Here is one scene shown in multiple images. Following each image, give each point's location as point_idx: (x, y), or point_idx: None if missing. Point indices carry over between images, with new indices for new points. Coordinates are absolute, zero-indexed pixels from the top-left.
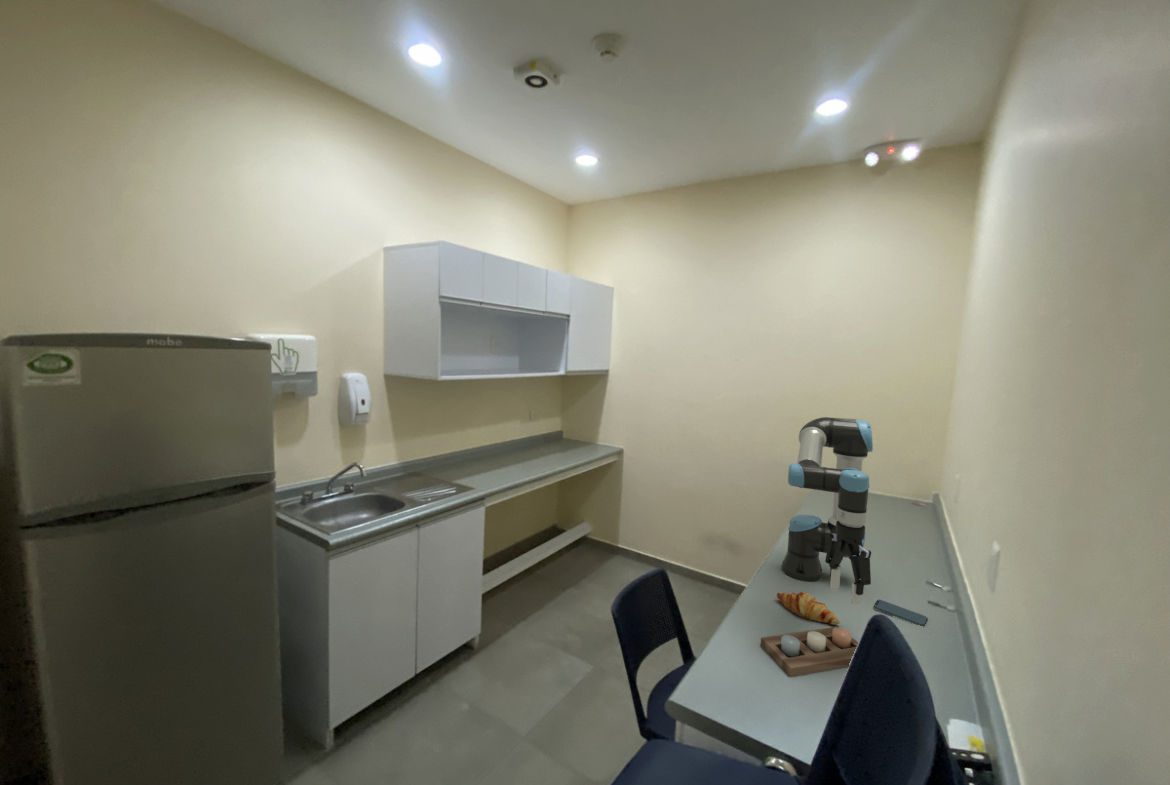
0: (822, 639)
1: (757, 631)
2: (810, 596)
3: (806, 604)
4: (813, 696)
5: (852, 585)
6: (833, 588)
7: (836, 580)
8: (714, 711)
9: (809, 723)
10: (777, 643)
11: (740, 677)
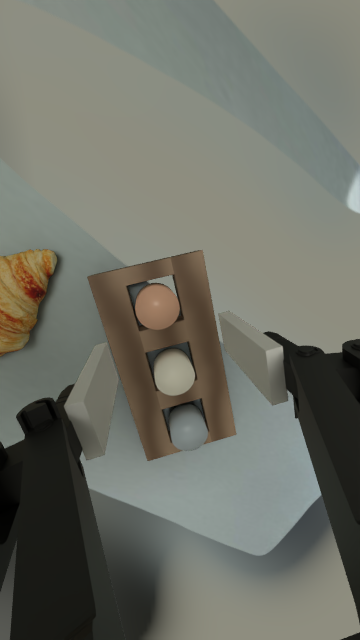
0: (187, 369)
1: None
2: None
3: (4, 334)
4: (273, 405)
5: (262, 393)
6: (115, 374)
7: (105, 382)
8: (283, 524)
9: None
10: (166, 437)
11: (228, 490)
